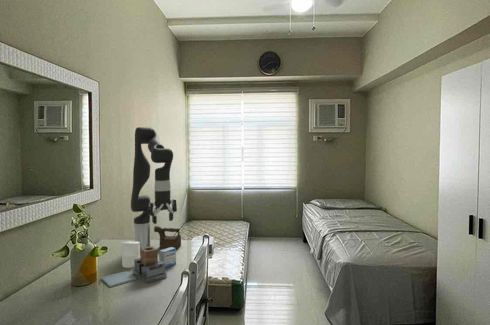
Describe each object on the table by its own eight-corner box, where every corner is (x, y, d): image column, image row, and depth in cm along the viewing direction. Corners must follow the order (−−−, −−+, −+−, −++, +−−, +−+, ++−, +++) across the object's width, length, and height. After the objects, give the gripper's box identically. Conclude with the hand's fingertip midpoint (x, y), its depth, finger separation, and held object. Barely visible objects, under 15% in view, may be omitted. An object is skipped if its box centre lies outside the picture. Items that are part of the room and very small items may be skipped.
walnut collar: (140, 262, 155) (140, 248, 154) (152, 260, 159) (152, 246, 158) (146, 266, 150) (145, 251, 150) (157, 263, 154) (157, 249, 154)
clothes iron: (158, 245, 203) (157, 224, 202) (182, 245, 201) (181, 225, 200) (153, 249, 195) (152, 227, 194) (177, 249, 193) (177, 228, 192)
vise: (132, 273, 158) (132, 250, 157) (151, 267, 164) (151, 246, 164) (146, 283, 146) (146, 258, 145) (166, 277, 152) (166, 253, 152)
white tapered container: (143, 261, 173) (142, 240, 173) (135, 268, 164) (135, 245, 164) (127, 261, 174) (126, 239, 173) (119, 267, 165) (118, 244, 165)
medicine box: (164, 268, 163) (164, 252, 163) (159, 266, 166) (158, 250, 166) (176, 264, 170) (176, 248, 169) (170, 262, 172) (170, 246, 172)
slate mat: (101, 279, 151) (101, 277, 150) (126, 272, 158) (126, 270, 158) (110, 287, 142) (110, 285, 141) (136, 279, 149) (136, 278, 149)
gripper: (171, 187, 162) (171, 218, 163) (145, 189, 153) (145, 223, 153) (179, 188, 157) (179, 221, 158) (152, 191, 147) (153, 226, 148)
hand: (162, 222), depth 156 cm, fingers open, 8 cm apart
